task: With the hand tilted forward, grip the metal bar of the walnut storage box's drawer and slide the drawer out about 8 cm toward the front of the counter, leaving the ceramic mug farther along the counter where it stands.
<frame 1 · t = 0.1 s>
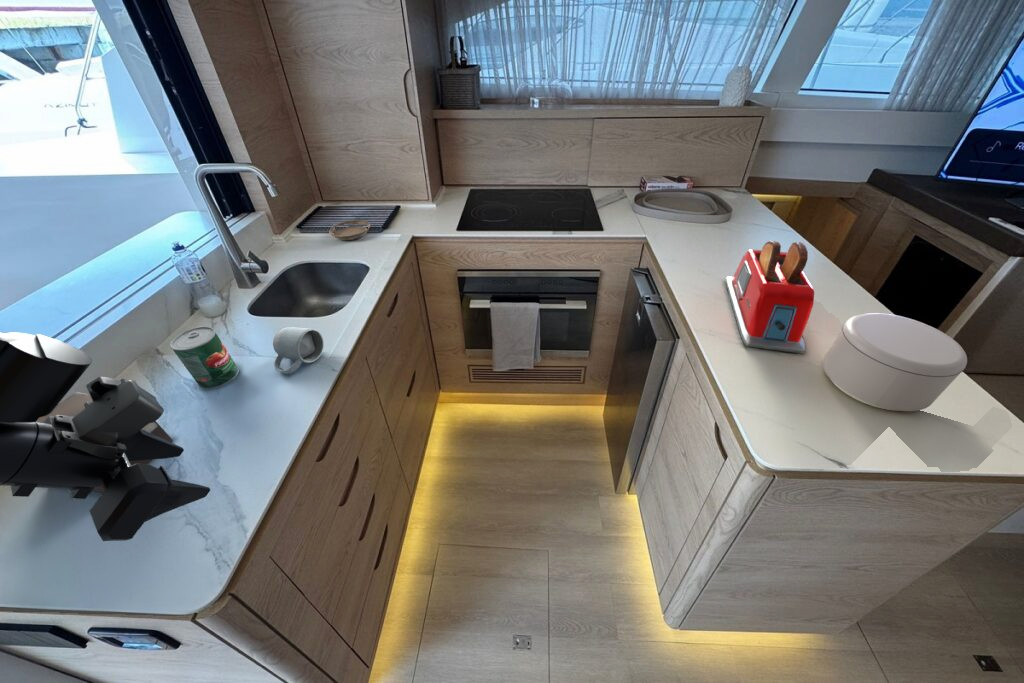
hand: (194, 471, 49), 16 cm above the worktop, tool tilted 35°, fingers open, 9 cm apart
canned tomato: (219, 377, 87), on the worktop
storage box: (114, 461, 70), on the worktop
saucer: (352, 235, 148), on the worktop
container: (870, 383, 80), on the worktop
ceramic mug: (301, 360, 91), on the worktop
toaster: (759, 313, 100), on the worktop
drawer: (112, 445, 66), point 5 cm above the worktop, slide at 0.0 cm, touching storage box
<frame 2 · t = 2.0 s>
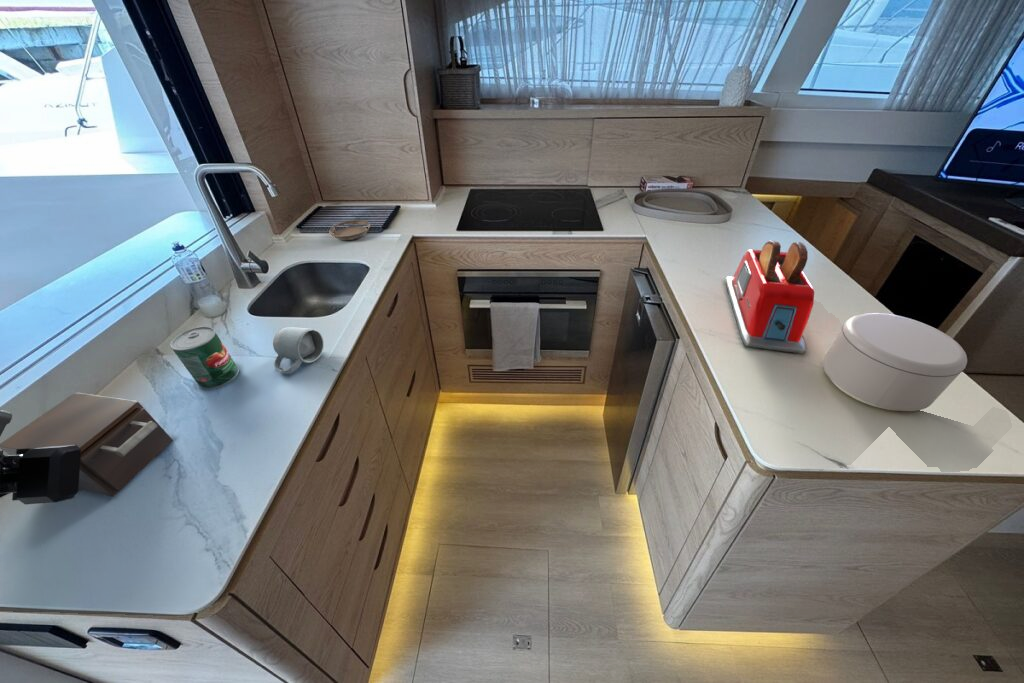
hand: (68, 464, 54), 14 cm above the worktop, tool tilted 45°, fingers closed
nothing on the worktop moved.
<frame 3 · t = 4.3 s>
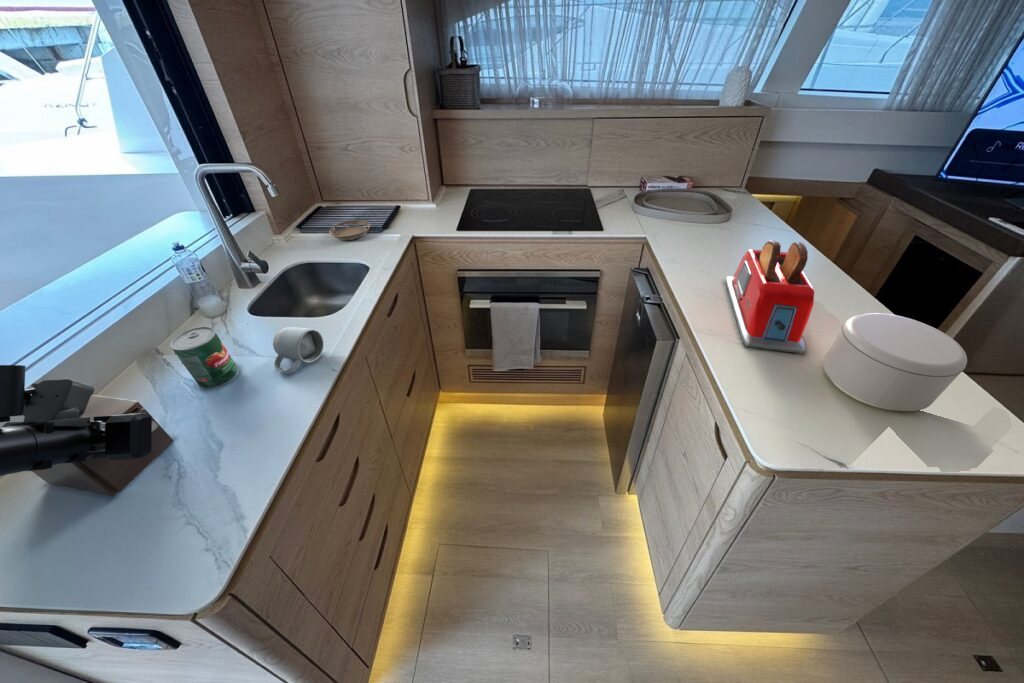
hand: (133, 430, 64), 9 cm above the worktop, tool tilted 45°, fingers closed
drawer: (113, 446, 66), point 5 cm above the worktop, slide at 0.2 cm, touching gripper
everything else where it was.
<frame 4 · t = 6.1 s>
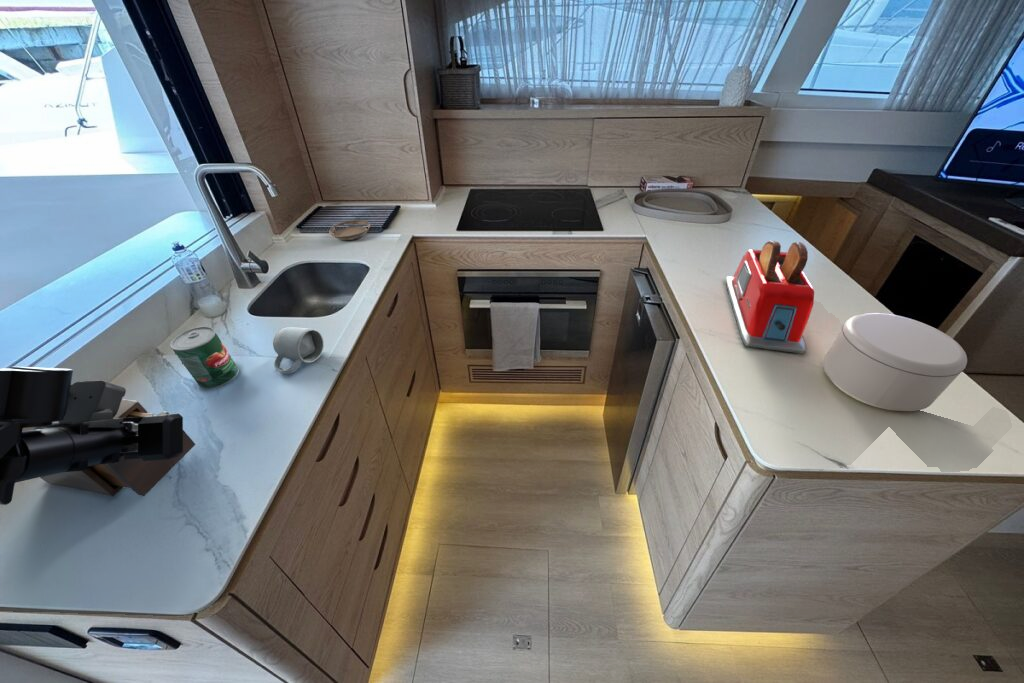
hand: (161, 431, 64), 9 cm above the worktop, tool tilted 45°, fingers closed
drawer: (136, 450, 66), point 5 cm above the worktop, slide at 5.0 cm, touching gripper
everything else where it was.
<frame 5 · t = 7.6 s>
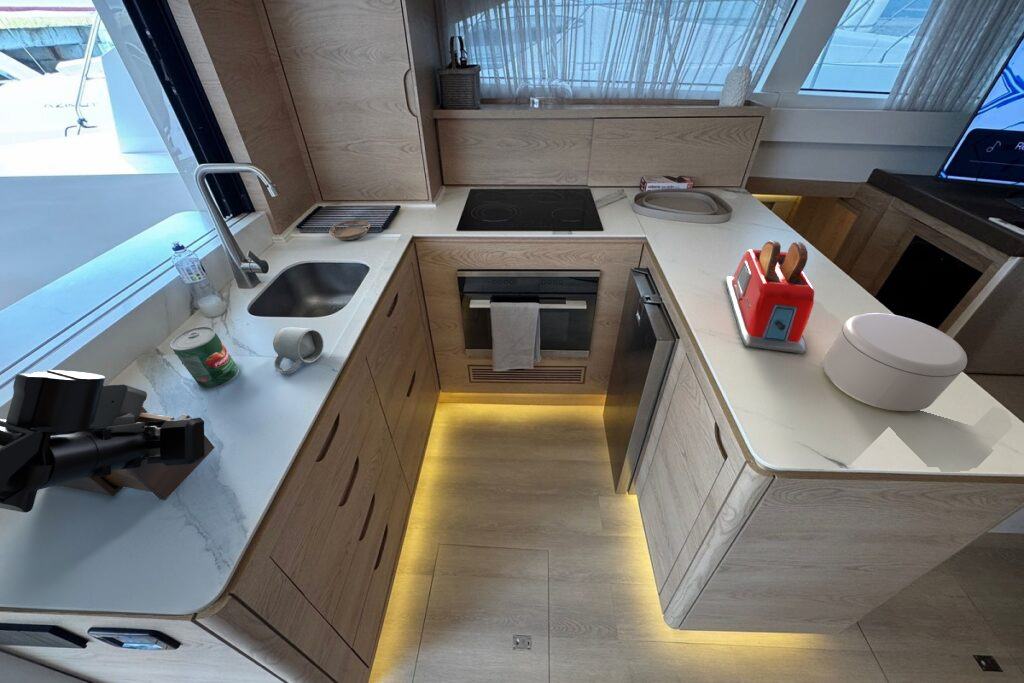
hand: (180, 435, 63), 9 cm above the worktop, tool tilted 45°, fingers closed, pressing on drawer
drawer: (157, 453, 65), point 5 cm above the worktop, slide at 9.1 cm, touching gripper
everything else where it was.
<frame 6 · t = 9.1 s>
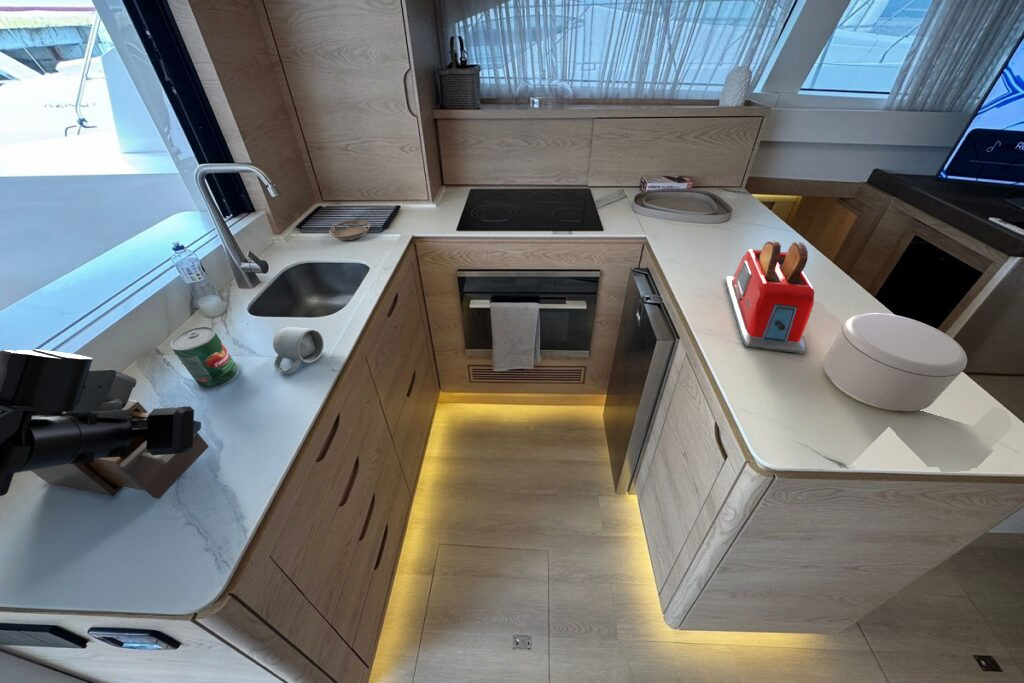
hand: (170, 427, 61), 11 cm above the worktop, tool tilted 45°, fingers open, 9 cm apart
drawer: (150, 452, 65), point 5 cm above the worktop, slide at 7.8 cm
everything else where it was.
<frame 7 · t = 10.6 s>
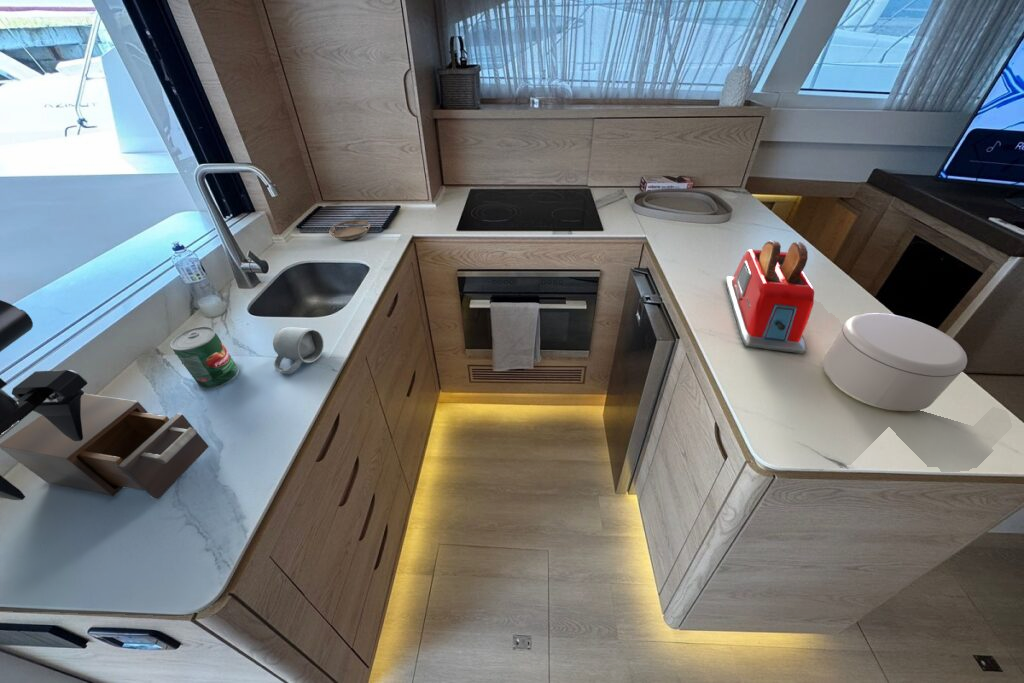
hand: (51, 467, 54), 13 cm above the worktop, tool pointing down, fingers open, 9 cm apart
nothing on the worktop moved.
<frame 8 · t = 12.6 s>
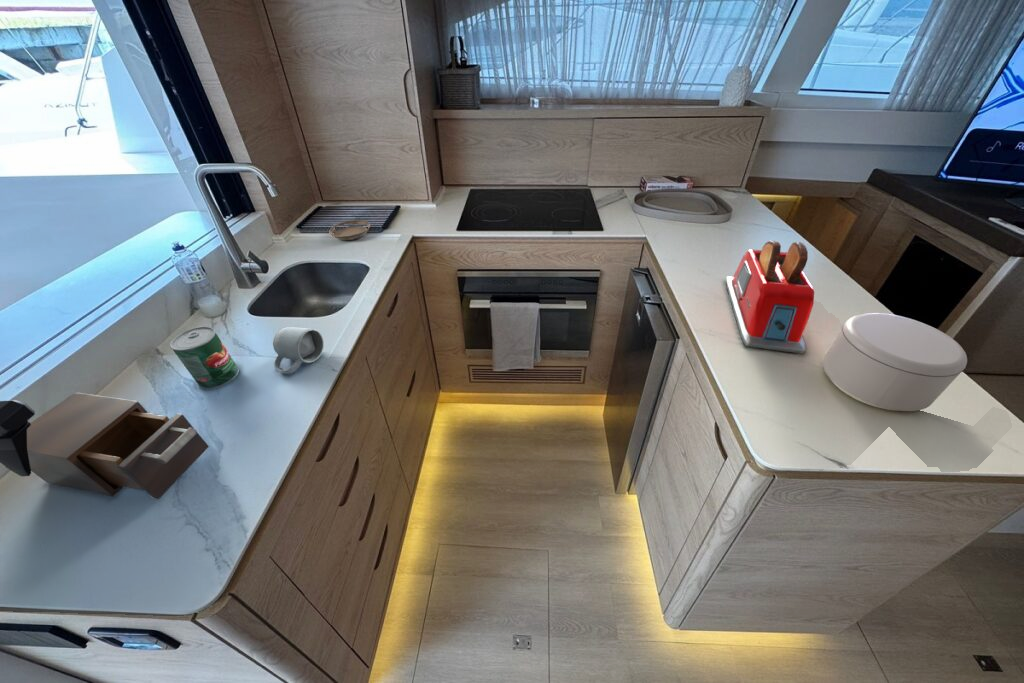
nothing on the worktop moved.
at the end: drawer slide at 7.8 cm; ceramic mug moved 0.2 cm from its start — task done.
